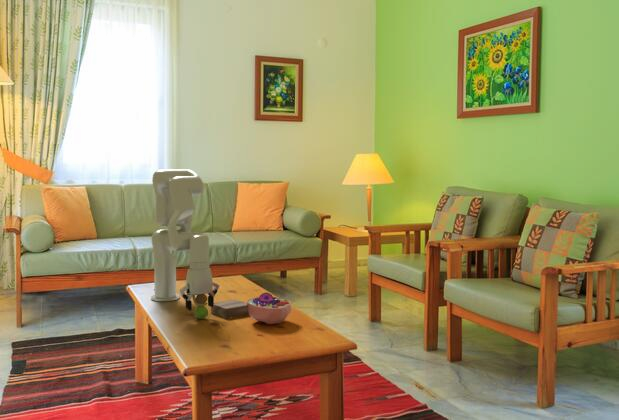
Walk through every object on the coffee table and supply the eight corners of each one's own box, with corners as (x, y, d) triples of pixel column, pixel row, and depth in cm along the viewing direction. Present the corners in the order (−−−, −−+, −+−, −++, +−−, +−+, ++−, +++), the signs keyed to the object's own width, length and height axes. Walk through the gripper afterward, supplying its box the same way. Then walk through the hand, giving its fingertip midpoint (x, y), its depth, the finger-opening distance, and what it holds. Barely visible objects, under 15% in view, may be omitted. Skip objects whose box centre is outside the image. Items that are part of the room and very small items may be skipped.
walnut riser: (210, 312, 261) (210, 303, 261) (235, 308, 268) (235, 299, 268) (226, 318, 252) (226, 308, 251) (251, 314, 259) (251, 304, 259)
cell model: (256, 331, 234) (256, 301, 233) (241, 318, 253) (241, 290, 252) (298, 327, 240) (298, 297, 239) (281, 314, 259) (281, 287, 258)
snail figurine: (192, 317, 253) (192, 288, 252) (208, 317, 254) (208, 287, 253) (190, 320, 248) (190, 291, 247) (207, 320, 249) (207, 290, 248)
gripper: (213, 262, 257) (214, 303, 259) (175, 266, 247) (175, 309, 248) (223, 264, 252) (223, 306, 253) (184, 269, 241) (184, 313, 242)
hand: (199, 308), depth 250 cm, fingers open, 9 cm apart
